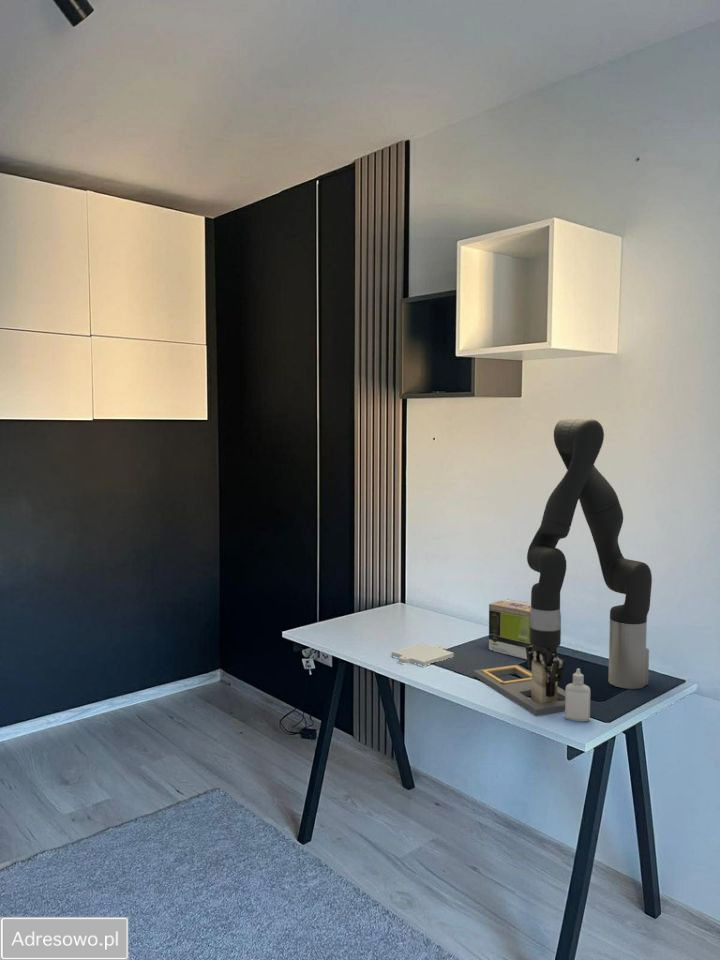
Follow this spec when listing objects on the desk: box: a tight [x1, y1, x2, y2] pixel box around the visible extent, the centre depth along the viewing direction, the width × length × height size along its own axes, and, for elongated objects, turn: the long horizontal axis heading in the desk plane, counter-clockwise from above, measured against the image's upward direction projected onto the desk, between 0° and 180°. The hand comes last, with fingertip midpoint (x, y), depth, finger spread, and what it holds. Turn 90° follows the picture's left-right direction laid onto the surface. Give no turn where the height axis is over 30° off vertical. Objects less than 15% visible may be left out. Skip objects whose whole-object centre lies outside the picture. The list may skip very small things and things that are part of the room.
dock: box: [473, 664, 566, 716], centre depth 193 cm, size 14×30×2 cm, turn 21°
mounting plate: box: [391, 642, 455, 666], centre depth 222 cm, size 18×13×2 cm
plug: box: [530, 660, 558, 704], centre depth 186 cm, size 4×4×10 cm
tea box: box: [488, 598, 533, 660], centre depth 226 cm, size 15×10×15 cm, turn 43°
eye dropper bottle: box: [564, 668, 591, 723], centre depth 175 cm, size 4×6×12 cm
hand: (544, 692), depth 186 cm, fingers closed on plug, 4 cm apart
